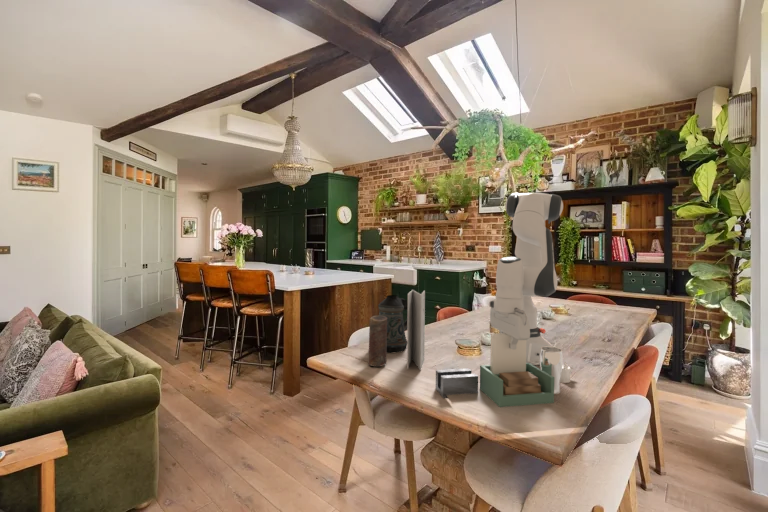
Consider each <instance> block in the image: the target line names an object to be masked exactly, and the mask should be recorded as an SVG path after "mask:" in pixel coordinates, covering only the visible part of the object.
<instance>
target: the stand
mask: <svg viewBox="0 0 768 512" xmlns="http://www.w3.org/2000/svg"><path fill="white" fill-rule="evenodd" d="M435 390H436V392H437V393H439V395H440V396H441V397H442V399H449V397H448V396H451V395H453V396H454V395H468V394H479V375H478V374H476V373H472V369H470V368H468V367H467V368H449V369H447V368H445V369H436V370H435Z"/></svg>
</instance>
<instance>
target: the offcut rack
mask: <svg viewBox="0 0 768 512" xmlns="http://www.w3.org/2000/svg"><path fill="white" fill-rule="evenodd" d="M526 371H528V372H530V373H531V374H533V375H534V376H536V377H538V384H540V385H541V391H542V392H544V393H530V394H516V395H503V380H502V379H501V378H499V374H494V373H493V372H491V371H490V364H483V365H481V364H480V365H479V374H480V375H479V390H480V391H481V392H483V393H484V394H485V396H487V397H488V398H489V399H490V400H492V401H493V402H494V403H495V404H496V405H497V406H498V407H499V408H504V407H505V408H506V407H516V406H518V407H519V406H533V405H542V404H554V403H555V394H554V377H553V376H551V375H550V374H548V373H546V372H544V371H543V370H541V368H540V367H537V365H532V364H530V363H526Z"/></svg>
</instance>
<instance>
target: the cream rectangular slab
mask: <svg viewBox="0 0 768 512" xmlns="http://www.w3.org/2000/svg"><path fill="white" fill-rule="evenodd" d="M509 343H511V336H510V335H508V334H506V333H499V332H498V333H490V360H489V361H490V364H489V365H490V371H491V372H493V373H494V374H499V373H507V372H524V371H526V340H518V342H517V344H516V349H514V350H512V349H510V348H509Z"/></svg>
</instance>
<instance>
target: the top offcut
mask: <svg viewBox="0 0 768 512" xmlns="http://www.w3.org/2000/svg"><path fill="white" fill-rule="evenodd" d="M499 378H501V379H502V380H503V384H505V385H506V386H507V387H522V386H537V385H538V377H536V376H534V375H533V374H531V373H530V372H528V371H524V372H507V373H499Z"/></svg>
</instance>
